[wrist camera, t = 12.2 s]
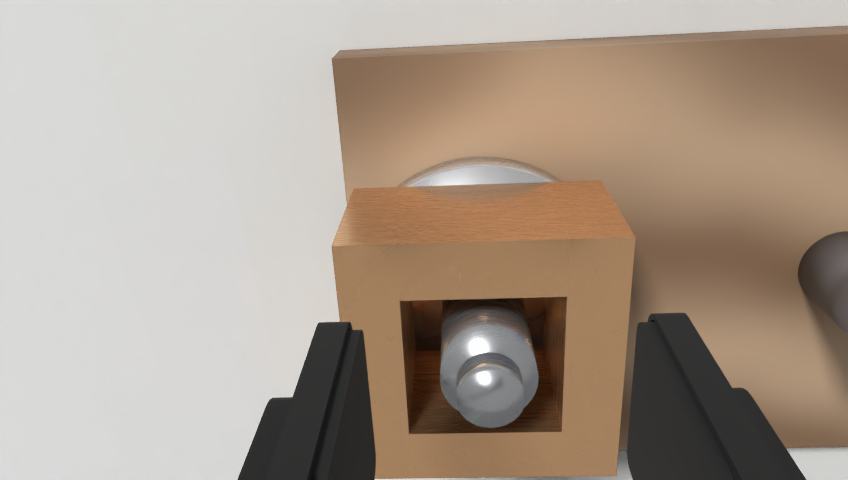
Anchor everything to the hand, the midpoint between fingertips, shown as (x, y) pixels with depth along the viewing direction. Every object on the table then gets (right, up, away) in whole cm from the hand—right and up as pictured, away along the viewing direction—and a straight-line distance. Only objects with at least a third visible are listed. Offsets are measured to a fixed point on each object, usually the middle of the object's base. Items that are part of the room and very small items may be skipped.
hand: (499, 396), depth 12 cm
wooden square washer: (0, +1, +9) cm, 9 cm away
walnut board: (+6, +2, +11) cm, 13 cm away
